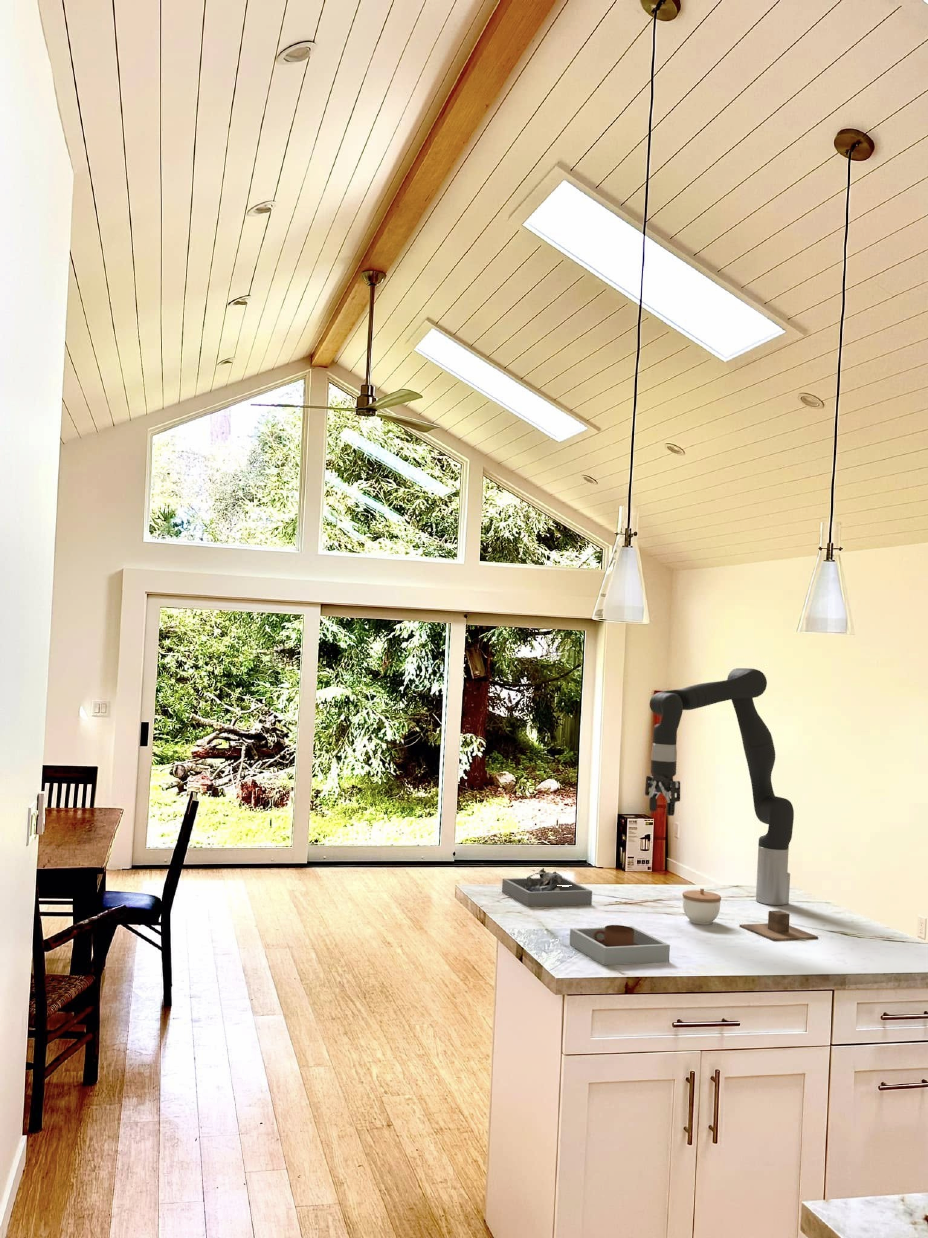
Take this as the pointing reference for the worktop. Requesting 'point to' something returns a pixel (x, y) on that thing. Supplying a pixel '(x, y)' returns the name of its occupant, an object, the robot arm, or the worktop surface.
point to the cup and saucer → (616, 936)
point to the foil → (544, 882)
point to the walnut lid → (778, 928)
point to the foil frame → (547, 893)
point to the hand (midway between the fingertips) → (661, 813)
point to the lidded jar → (701, 906)
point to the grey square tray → (620, 947)
